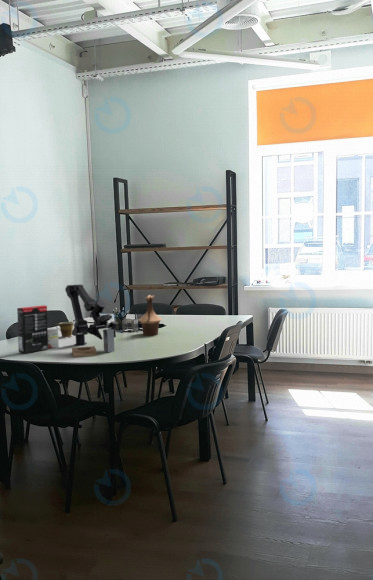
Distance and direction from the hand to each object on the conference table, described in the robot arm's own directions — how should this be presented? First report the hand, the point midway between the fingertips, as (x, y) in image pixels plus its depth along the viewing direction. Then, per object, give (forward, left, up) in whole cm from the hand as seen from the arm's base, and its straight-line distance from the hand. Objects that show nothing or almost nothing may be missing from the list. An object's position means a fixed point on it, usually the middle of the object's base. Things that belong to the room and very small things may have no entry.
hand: (108, 338), depth 294 cm
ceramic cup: (-53, -46, -8) cm, 71 cm away
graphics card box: (-2, -47, -8) cm, 48 cm away
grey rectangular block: (0, 0, -8) cm, 8 cm away
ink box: (-15, -41, -8) cm, 44 cm away
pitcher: (-60, +14, -8) cm, 62 cm away
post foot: (+7, -13, -8) cm, 17 cm away
